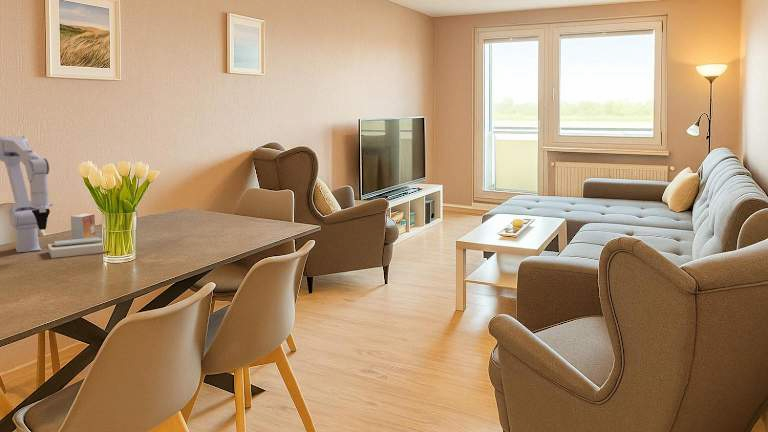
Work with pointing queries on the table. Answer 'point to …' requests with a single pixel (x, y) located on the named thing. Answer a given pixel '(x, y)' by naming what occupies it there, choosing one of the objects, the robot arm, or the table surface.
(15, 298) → the table surface
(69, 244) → the yellow rounded bar
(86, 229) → the small box
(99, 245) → the white sliding drawer case
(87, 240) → the cover
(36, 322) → the table surface
